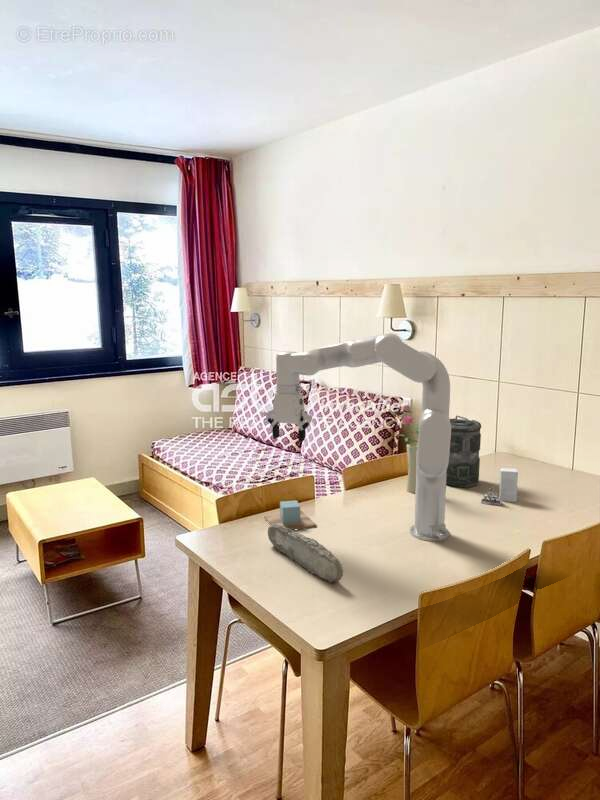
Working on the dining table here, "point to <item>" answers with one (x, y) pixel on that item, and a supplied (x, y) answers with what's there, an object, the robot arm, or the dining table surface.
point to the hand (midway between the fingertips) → (288, 439)
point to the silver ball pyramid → (491, 501)
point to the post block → (304, 523)
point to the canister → (464, 453)
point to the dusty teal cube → (290, 512)
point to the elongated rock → (306, 552)
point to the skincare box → (508, 484)
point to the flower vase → (410, 453)
